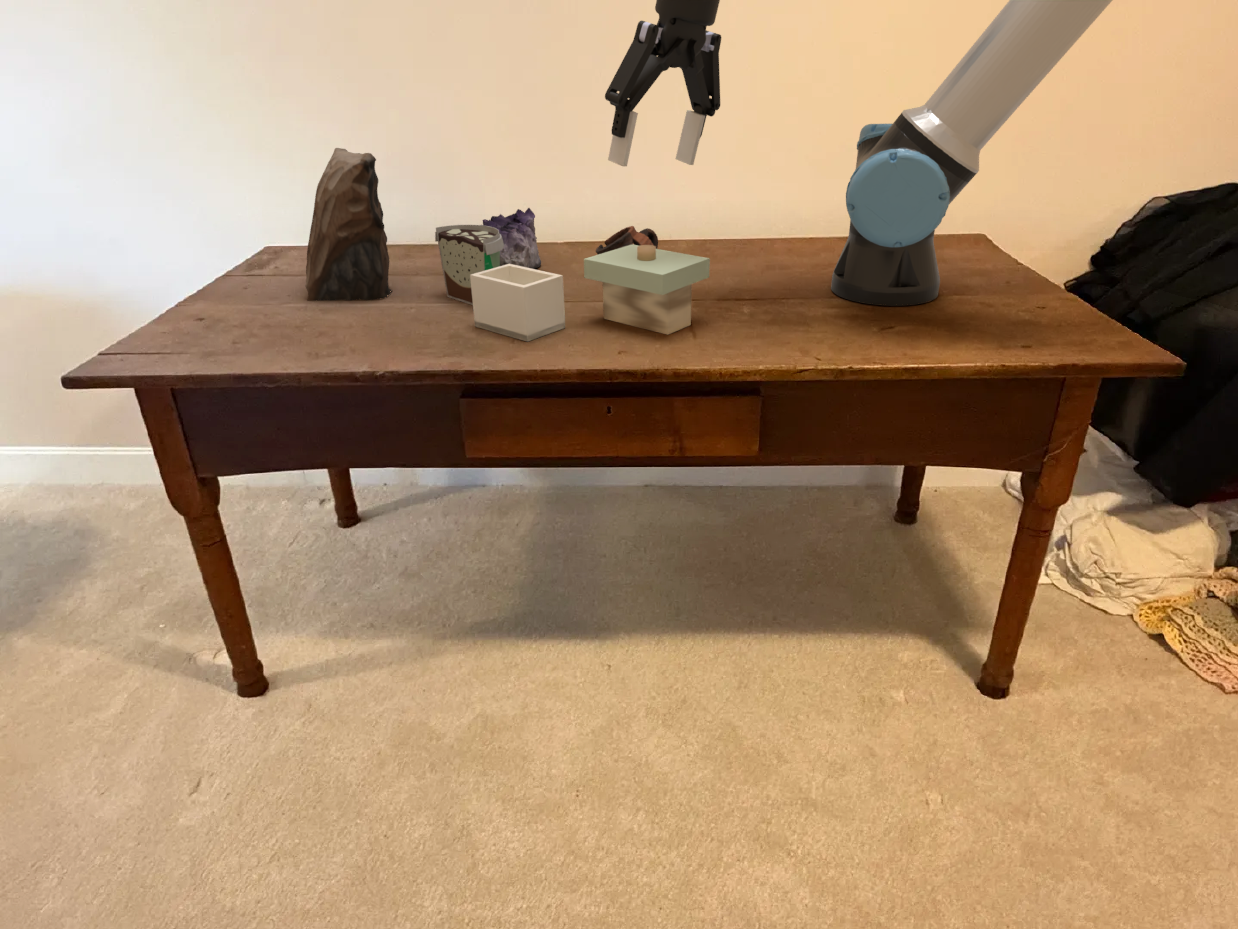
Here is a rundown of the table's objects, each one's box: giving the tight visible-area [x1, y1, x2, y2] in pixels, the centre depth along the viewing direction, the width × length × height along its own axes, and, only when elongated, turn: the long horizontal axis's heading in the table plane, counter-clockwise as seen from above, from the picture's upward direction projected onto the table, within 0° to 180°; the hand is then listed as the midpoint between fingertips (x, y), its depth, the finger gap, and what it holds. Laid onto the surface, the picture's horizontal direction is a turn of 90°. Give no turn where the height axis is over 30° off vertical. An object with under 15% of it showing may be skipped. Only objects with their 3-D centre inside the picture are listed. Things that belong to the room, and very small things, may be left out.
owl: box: [305, 147, 392, 302], centre depth 127 cm, size 13×13×20 cm
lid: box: [583, 244, 711, 295], centre depth 112 cm, size 13×10×4 cm
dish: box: [470, 264, 566, 343], centre depth 113 cm, size 10×7×7 cm
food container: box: [434, 224, 504, 306], centre depth 125 cm, size 12×6×10 cm, turn 45°
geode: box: [482, 207, 542, 269], centre depth 139 cm, size 20×12×10 cm, turn 172°
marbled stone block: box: [602, 282, 693, 336], centre depth 114 cm, size 11×5×6 cm, turn 50°
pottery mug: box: [595, 225, 659, 255], centre depth 138 cm, size 12×10×8 cm
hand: (652, 162), depth 115 cm, fingers open, 13 cm apart
